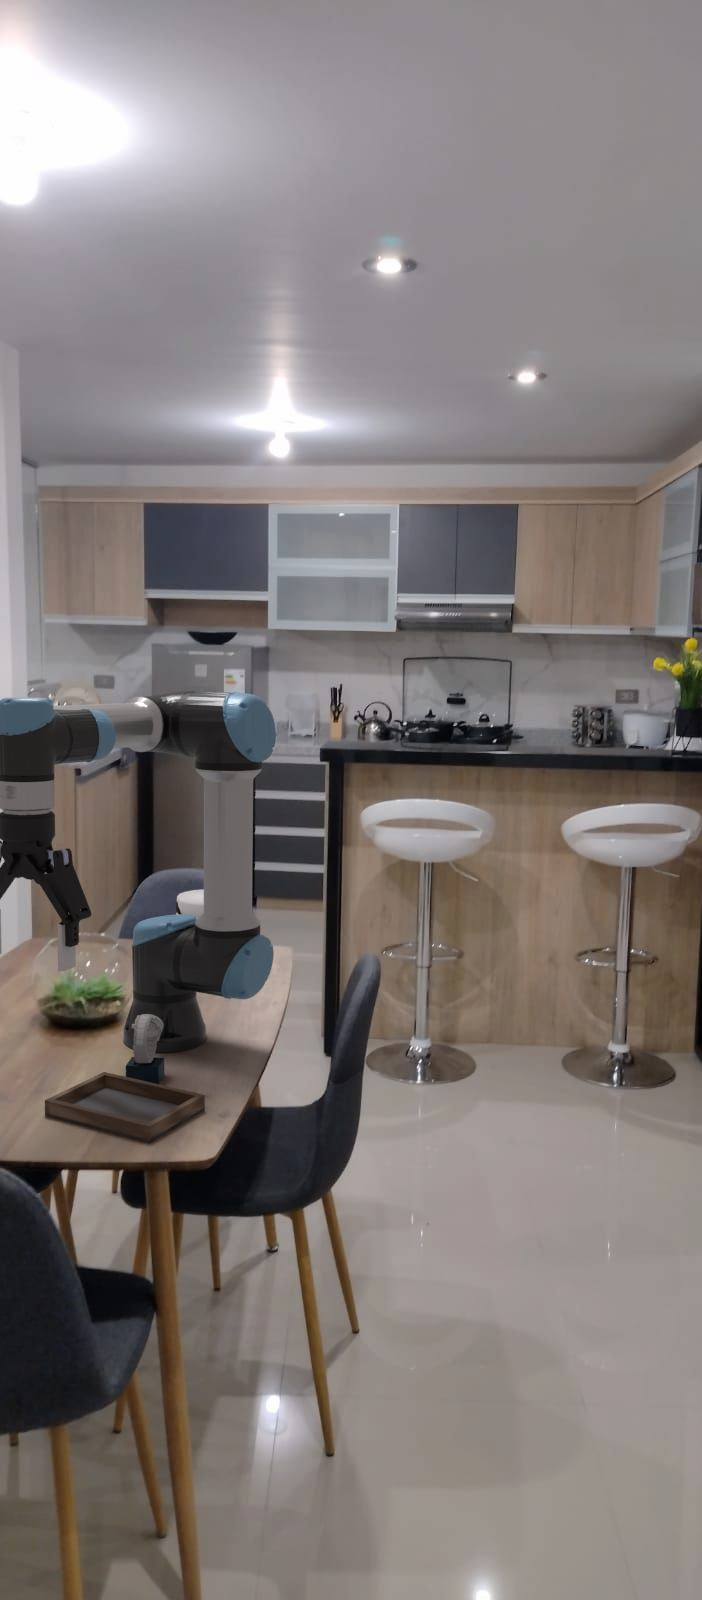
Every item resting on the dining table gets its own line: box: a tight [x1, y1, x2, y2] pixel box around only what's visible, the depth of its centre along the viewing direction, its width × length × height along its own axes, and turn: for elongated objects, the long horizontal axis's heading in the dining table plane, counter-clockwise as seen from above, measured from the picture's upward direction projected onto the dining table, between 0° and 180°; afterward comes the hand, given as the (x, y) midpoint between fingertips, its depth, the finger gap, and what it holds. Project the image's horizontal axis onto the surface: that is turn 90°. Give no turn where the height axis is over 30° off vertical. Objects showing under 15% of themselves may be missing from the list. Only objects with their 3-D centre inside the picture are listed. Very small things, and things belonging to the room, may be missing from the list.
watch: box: [125, 1014, 165, 1085], centre depth 189 cm, size 6×8×11 cm
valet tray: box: [44, 1071, 206, 1144], centre depth 175 cm, size 14×20×3 cm
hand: (29, 962), depth 156 cm, fingers open, 13 cm apart
